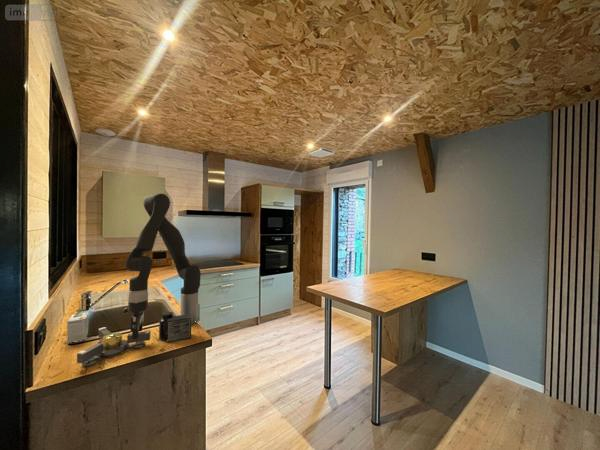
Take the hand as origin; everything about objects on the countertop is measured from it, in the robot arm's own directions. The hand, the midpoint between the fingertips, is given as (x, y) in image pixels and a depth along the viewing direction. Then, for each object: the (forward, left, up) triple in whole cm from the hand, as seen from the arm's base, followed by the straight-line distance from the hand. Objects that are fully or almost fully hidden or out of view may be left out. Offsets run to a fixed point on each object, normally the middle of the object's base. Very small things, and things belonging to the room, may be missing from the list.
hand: (137, 334), depth 112 cm
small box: (-14, +10, -6) cm, 18 cm away
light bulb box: (+8, -34, -6) cm, 35 cm away
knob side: (+6, -16, -4) cm, 17 cm away
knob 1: (+17, -2, -4) cm, 17 cm away
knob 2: (0, +1, -4) cm, 4 cm away
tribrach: (+8, -8, -5) cm, 12 cm away
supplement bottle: (-12, +4, -6) cm, 14 cm away
